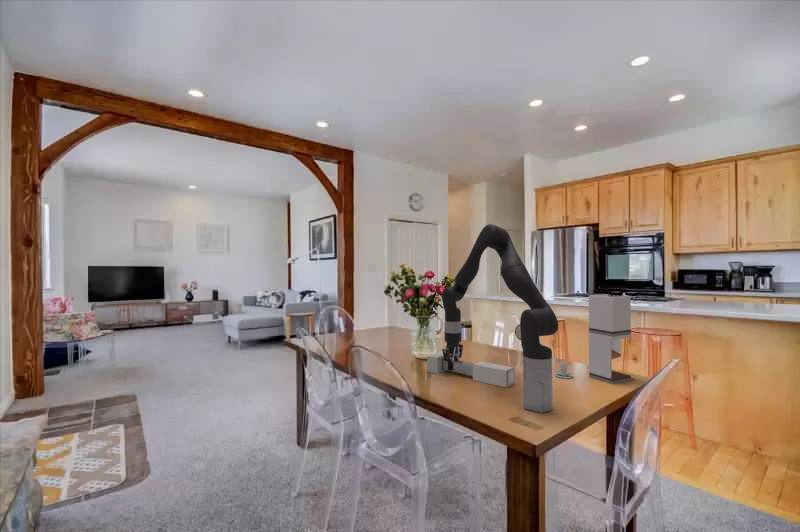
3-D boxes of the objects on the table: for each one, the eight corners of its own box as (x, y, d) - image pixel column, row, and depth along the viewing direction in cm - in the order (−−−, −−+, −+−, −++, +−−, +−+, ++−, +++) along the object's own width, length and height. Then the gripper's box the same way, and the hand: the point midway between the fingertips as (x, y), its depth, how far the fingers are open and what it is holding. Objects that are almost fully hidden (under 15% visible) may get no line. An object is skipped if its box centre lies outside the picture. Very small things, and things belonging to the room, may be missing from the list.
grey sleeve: (507, 387, 143) (507, 371, 143) (472, 379, 153) (472, 364, 153) (514, 383, 148) (514, 367, 148) (479, 376, 158) (479, 361, 158)
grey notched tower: (612, 384, 146) (612, 297, 146) (589, 377, 156) (588, 295, 156) (630, 380, 151) (630, 296, 151) (606, 373, 161) (606, 294, 161)
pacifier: (571, 380, 152) (573, 376, 157) (571, 365, 152) (573, 362, 157) (552, 377, 156) (555, 373, 161) (552, 363, 156) (555, 359, 161)
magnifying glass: (533, 365, 174) (533, 323, 174) (533, 366, 172) (532, 324, 172) (515, 363, 178) (515, 322, 178) (514, 364, 177) (514, 322, 177)
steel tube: (485, 378, 150) (485, 368, 150) (434, 367, 167) (434, 358, 167) (490, 376, 153) (490, 366, 153) (439, 365, 170) (439, 356, 170)
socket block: (437, 374, 161) (437, 357, 161) (427, 371, 165) (427, 355, 165) (452, 368, 170) (452, 352, 170) (442, 366, 174) (442, 351, 174)
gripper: (451, 334, 155) (451, 374, 155) (468, 329, 166) (468, 367, 166) (436, 332, 160) (437, 371, 160) (454, 327, 171) (454, 364, 171)
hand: (453, 369), depth 163 cm, fingers closed on steel tube, 4 cm apart
